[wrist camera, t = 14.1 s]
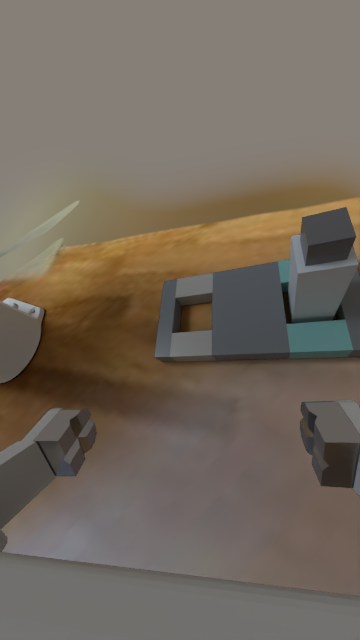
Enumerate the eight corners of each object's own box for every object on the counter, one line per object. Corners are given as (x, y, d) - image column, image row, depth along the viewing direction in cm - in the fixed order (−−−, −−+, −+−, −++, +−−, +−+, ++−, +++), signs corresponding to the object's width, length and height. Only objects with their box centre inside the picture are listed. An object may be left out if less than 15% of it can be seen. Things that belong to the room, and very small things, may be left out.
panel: (162, 362, 32) (154, 357, 30) (170, 289, 37) (163, 281, 35) (373, 356, 23) (382, 348, 21) (345, 262, 28) (351, 248, 26)
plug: (291, 326, 27) (300, 253, 16) (287, 297, 29) (292, 213, 18) (330, 323, 26) (369, 241, 14) (323, 293, 27) (354, 198, 16)
